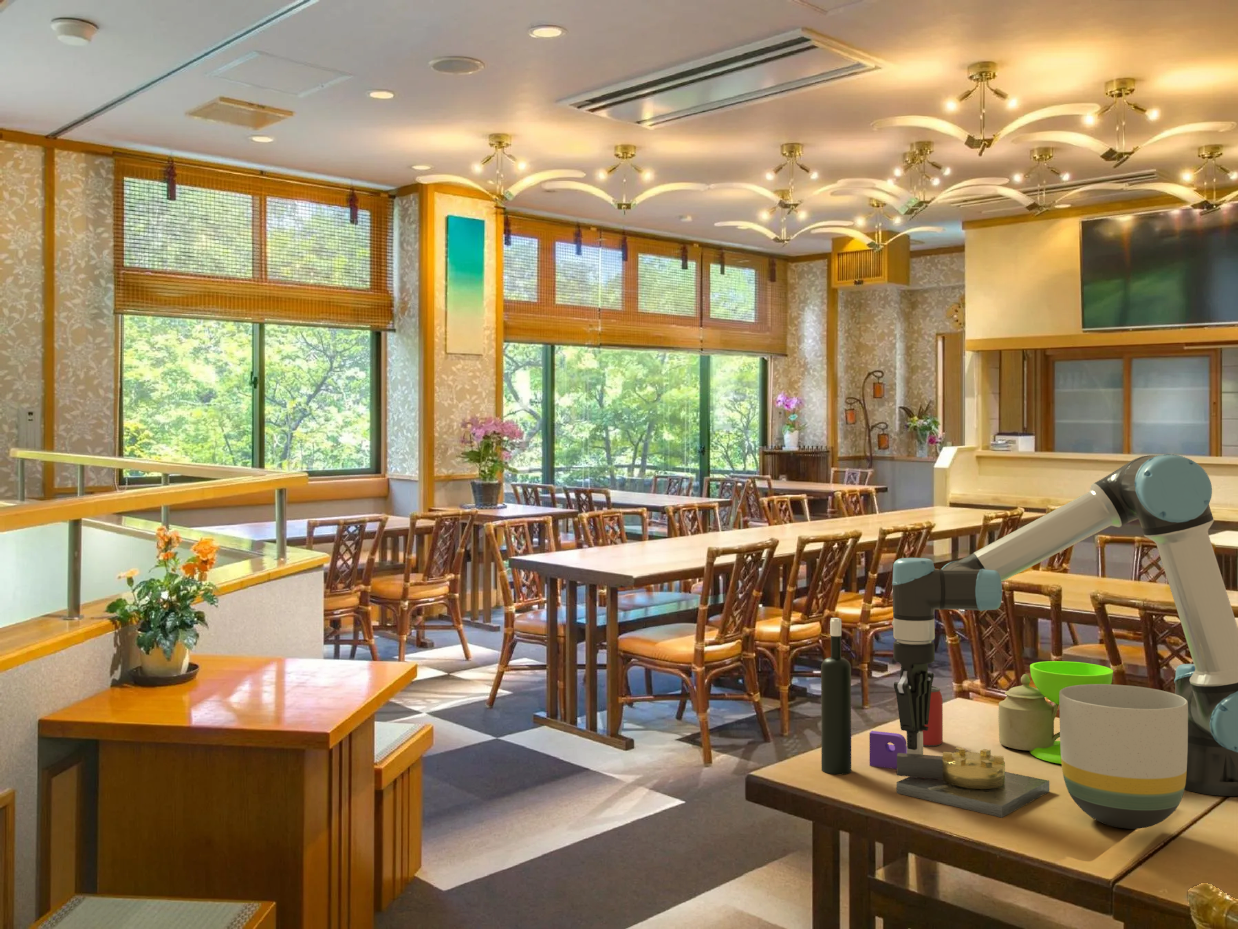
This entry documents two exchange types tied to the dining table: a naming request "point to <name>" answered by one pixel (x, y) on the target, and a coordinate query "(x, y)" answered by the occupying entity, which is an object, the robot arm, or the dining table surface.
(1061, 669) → the wineglass
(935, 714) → the beer can
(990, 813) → the plate
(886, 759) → the bracket
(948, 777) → the gold tabbed disc
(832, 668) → the wine bottle
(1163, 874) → the dining table surface
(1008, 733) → the sugar bowl
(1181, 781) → the planter
